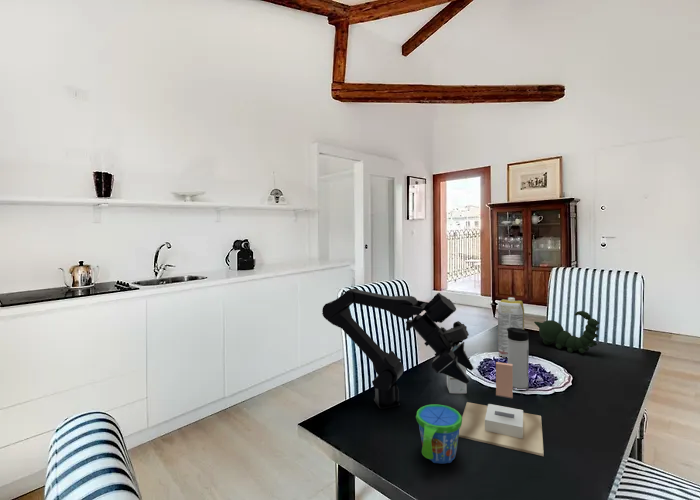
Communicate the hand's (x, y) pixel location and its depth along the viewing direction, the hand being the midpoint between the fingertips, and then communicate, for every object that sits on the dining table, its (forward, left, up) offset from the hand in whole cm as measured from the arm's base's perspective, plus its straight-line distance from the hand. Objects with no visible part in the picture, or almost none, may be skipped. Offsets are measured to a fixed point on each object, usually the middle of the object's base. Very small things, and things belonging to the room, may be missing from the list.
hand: (470, 375), depth 99 cm
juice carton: (+43, +35, -13) cm, 57 cm away
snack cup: (-16, -10, -13) cm, 23 cm away
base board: (+6, -6, -13) cm, 16 cm away
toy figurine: (+69, +34, -13) cm, 78 cm away
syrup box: (+6, +17, -13) cm, 23 cm away
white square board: (+6, -6, -13) cm, 16 cm away
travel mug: (+26, +12, -13) cm, 32 cm away
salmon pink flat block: (+6, -6, -4) cm, 10 cm away
